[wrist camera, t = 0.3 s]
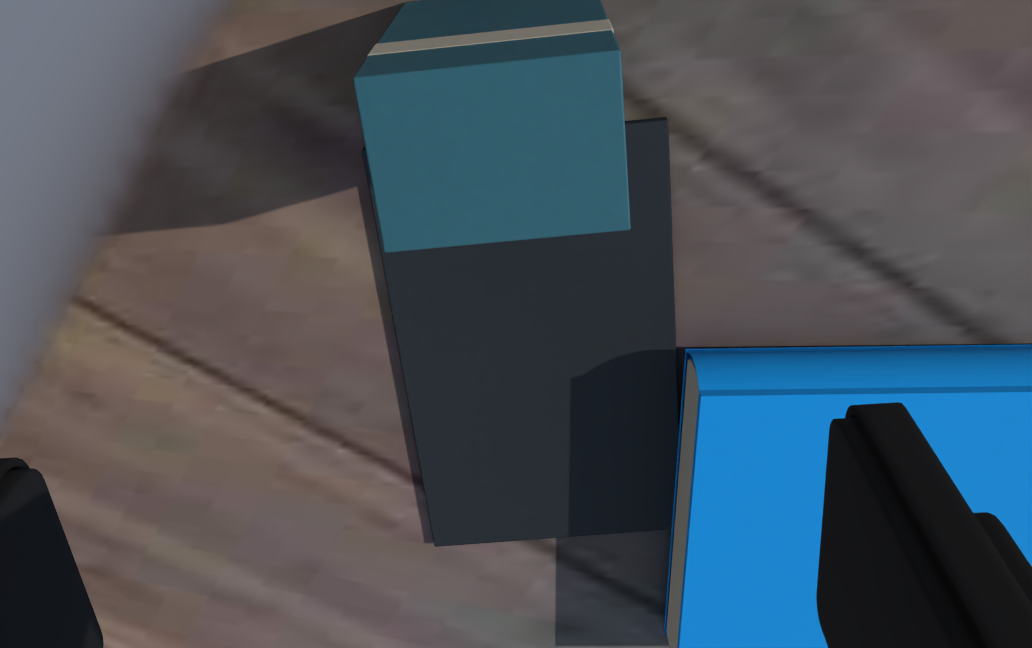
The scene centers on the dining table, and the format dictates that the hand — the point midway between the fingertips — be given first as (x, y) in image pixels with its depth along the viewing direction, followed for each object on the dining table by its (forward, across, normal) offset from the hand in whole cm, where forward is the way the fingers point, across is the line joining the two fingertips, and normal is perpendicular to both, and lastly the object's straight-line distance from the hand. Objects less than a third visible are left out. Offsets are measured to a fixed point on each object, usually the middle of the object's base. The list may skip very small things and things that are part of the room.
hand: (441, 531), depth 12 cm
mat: (+28, 0, +13) cm, 31 cm away
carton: (+28, 0, +1) cm, 28 cm away
